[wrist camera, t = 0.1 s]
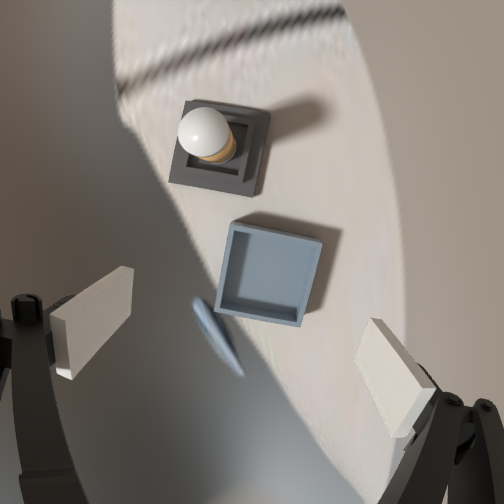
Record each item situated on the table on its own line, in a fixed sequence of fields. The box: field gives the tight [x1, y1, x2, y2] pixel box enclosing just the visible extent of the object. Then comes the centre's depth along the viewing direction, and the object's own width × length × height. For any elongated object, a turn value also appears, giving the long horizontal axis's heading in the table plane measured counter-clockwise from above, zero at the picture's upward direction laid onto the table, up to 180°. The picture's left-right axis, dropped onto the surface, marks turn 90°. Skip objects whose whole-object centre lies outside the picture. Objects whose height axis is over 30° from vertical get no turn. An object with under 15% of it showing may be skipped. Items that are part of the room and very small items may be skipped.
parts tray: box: [214, 221, 323, 327], centre depth 42 cm, size 12×12×4 cm
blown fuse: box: [178, 107, 237, 165], centre depth 33 cm, size 5×5×12 cm
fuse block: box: [168, 101, 270, 198], centre depth 39 cm, size 12×12×2 cm
